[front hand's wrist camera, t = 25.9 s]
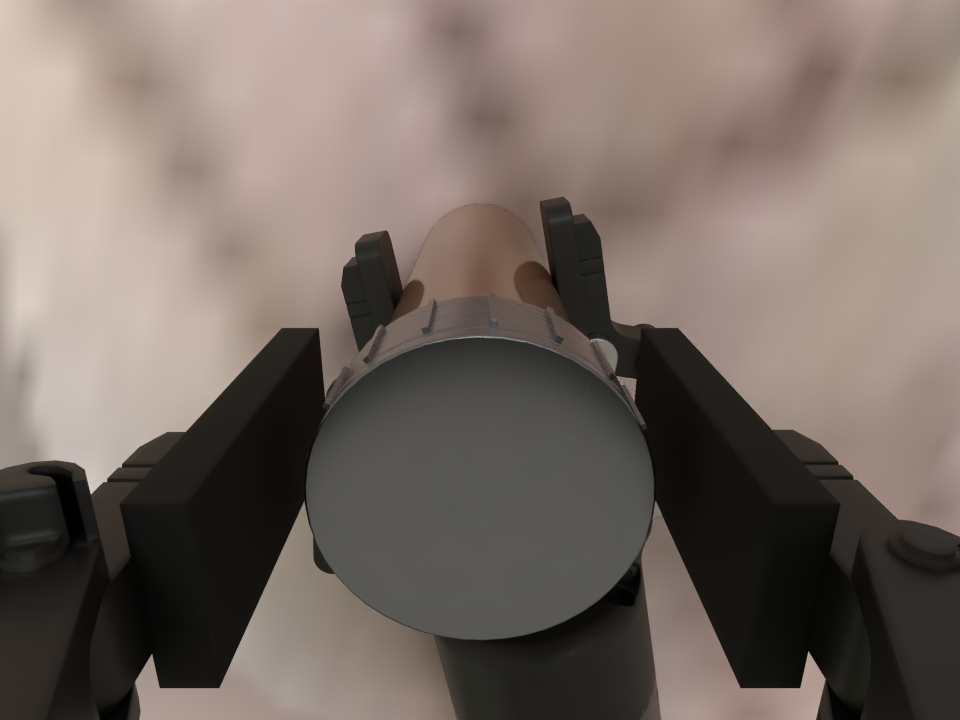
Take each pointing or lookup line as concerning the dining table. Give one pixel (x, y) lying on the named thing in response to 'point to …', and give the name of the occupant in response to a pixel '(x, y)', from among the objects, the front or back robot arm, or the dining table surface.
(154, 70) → the dining table surface
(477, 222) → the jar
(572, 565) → the lid
